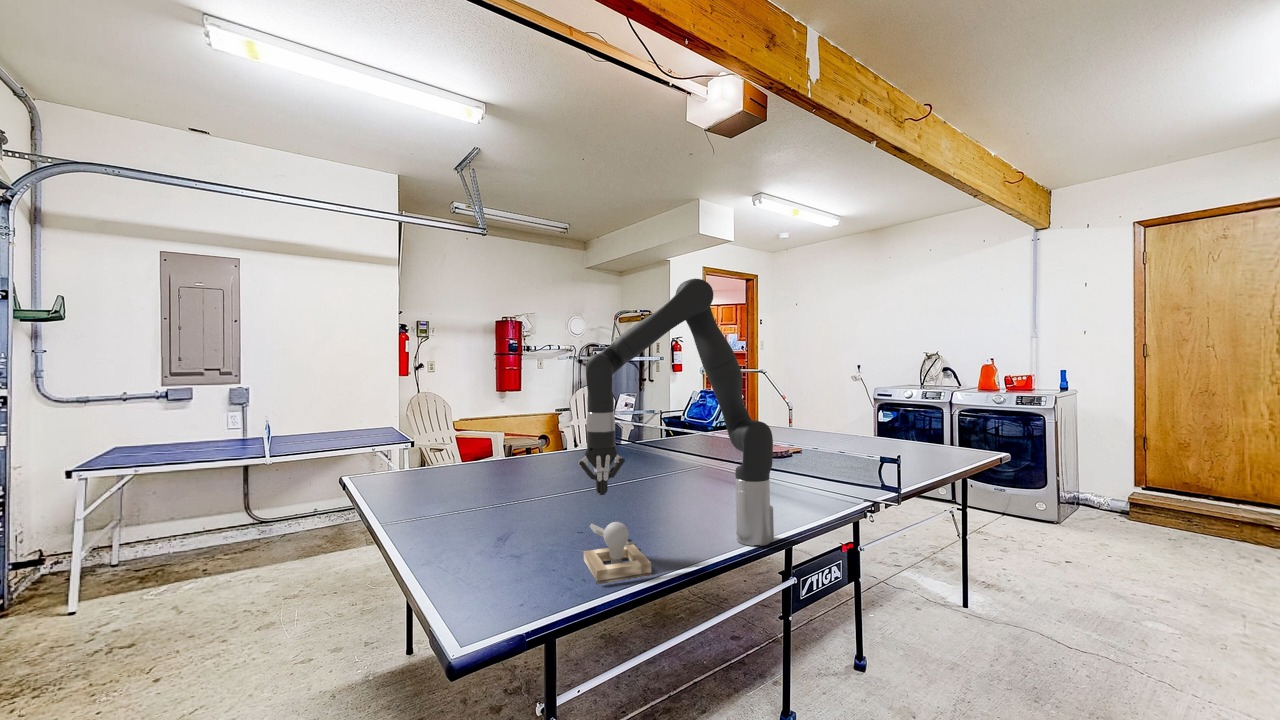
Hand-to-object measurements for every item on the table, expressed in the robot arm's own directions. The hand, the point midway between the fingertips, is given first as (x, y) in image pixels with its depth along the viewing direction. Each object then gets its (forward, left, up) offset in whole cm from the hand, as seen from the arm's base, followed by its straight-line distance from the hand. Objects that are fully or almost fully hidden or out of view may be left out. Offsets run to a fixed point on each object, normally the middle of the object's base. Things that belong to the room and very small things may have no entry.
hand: (601, 494), depth 132 cm
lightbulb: (0, +12, -15) cm, 19 cm away
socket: (0, +13, -15) cm, 20 cm away
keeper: (-2, 0, -12) cm, 12 cm away
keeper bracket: (-7, 0, -15) cm, 16 cm away
